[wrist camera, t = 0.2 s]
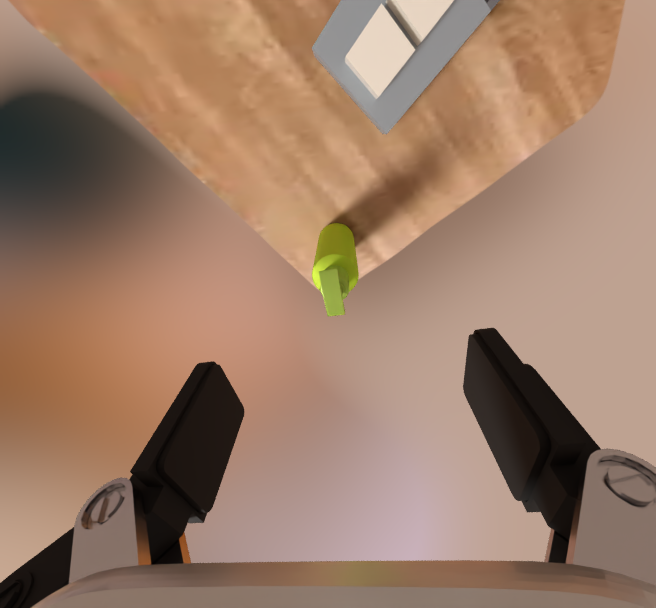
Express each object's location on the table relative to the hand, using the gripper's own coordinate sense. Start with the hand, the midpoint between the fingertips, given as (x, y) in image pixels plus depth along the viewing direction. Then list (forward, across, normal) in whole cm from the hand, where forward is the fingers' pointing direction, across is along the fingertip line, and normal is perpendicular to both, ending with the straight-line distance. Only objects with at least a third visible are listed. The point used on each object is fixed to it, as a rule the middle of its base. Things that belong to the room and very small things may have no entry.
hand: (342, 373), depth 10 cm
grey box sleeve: (+36, -9, -16) cm, 40 cm away
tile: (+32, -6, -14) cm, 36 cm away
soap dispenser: (+36, +2, +7) cm, 37 cm away
